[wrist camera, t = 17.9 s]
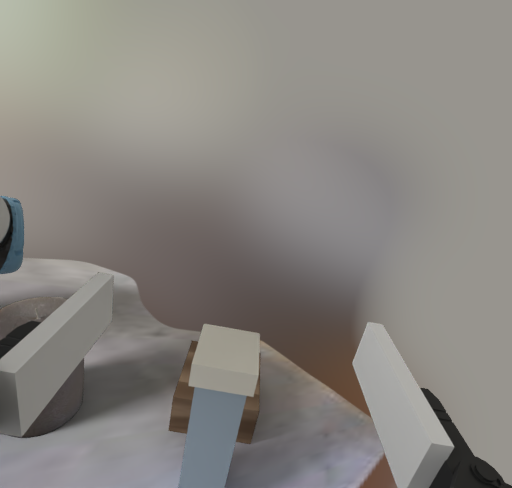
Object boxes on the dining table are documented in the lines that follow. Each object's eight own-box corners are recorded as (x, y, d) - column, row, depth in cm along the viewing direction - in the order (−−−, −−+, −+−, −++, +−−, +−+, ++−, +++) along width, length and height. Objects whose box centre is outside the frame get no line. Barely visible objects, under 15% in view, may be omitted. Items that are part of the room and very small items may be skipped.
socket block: (250, 443, 42) (259, 411, 40) (168, 430, 42) (173, 396, 40) (253, 381, 52) (260, 352, 50) (187, 370, 52) (192, 340, 50)
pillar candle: (-24, 440, 36) (-40, 334, 31) (18, 375, 45) (11, 283, 40) (70, 437, 39) (70, 338, 33) (93, 376, 47) (95, 290, 42)
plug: (221, 524, 33) (258, 375, 26) (168, 516, 33) (191, 363, 26) (227, 469, 38) (259, 333, 31) (181, 462, 38) (203, 323, 31)
